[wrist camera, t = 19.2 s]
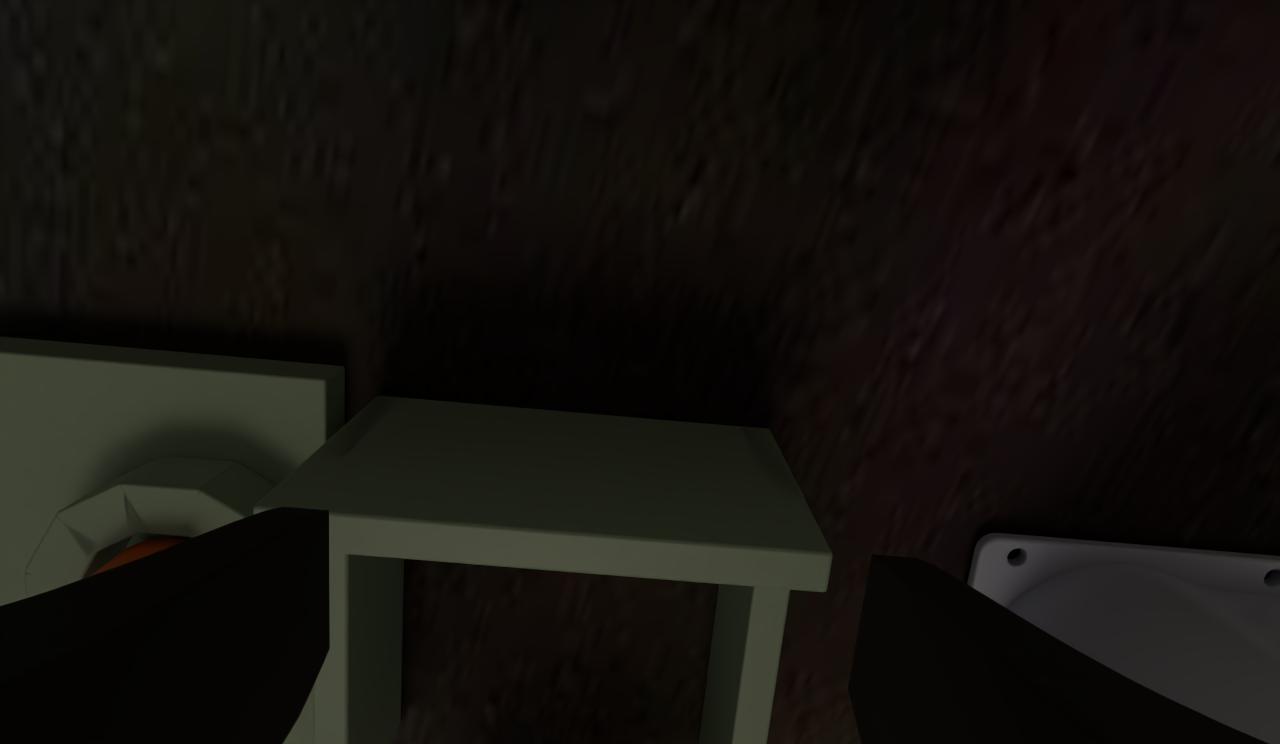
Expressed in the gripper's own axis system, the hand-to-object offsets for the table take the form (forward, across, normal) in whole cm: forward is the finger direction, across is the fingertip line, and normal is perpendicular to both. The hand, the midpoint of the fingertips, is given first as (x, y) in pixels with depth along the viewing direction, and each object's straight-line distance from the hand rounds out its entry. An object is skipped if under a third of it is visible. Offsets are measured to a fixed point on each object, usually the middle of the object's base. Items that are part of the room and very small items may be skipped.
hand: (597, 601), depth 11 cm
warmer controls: (+10, +11, +6) cm, 16 cm away
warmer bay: (+10, +1, +6) cm, 12 cm away
